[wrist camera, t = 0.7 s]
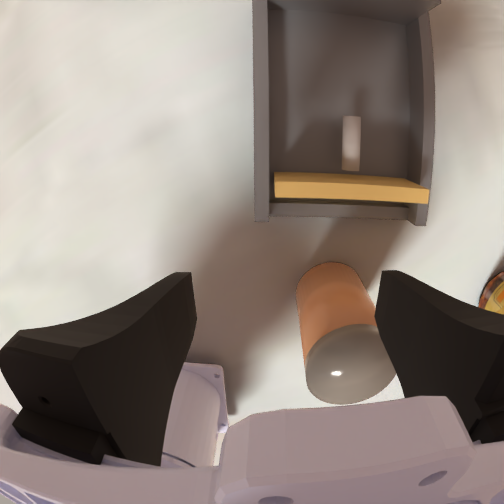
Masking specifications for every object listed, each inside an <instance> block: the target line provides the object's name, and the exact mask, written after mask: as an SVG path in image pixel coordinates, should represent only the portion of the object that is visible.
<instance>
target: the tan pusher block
mask: <svg viewBox="0 0 504 504" xmlns="http://www.w3.org/2000/svg"><path fill="white" fill-rule="evenodd" d="M360 139H361V117H357V116H343V139H342V170H347V171H359V166H360ZM274 189H275V197H280V198H326V199H353V200H374V201H392V202H407V203H421V204H428V199H429V189H427V188H425V187H423V186H420V185H418V184H416V183H414V182H411V181H409V180H407V179H404V178H394V177H382V176H368V175H352V174H332V173H304V172H274Z"/></svg>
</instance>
